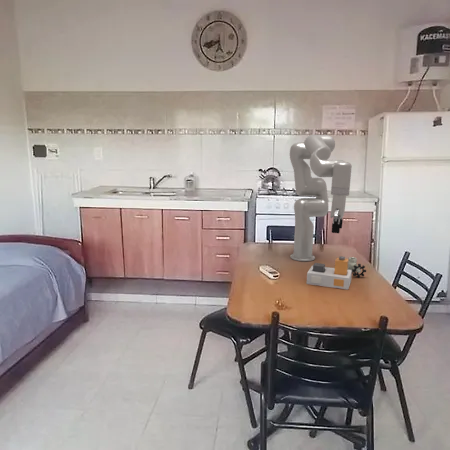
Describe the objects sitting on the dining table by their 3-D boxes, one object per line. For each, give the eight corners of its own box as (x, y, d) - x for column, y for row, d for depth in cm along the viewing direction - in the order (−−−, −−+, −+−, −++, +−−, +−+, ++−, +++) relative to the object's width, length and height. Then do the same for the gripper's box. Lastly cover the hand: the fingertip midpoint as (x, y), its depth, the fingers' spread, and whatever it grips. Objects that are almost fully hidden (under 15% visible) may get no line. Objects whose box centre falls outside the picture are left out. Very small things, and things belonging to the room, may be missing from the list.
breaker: (314, 272, 194) (314, 262, 193) (324, 273, 192) (325, 264, 192) (312, 275, 190) (313, 265, 189) (322, 276, 188) (323, 266, 187)
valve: (343, 270, 209) (351, 277, 197) (344, 256, 208) (352, 264, 196) (357, 270, 209) (365, 278, 197) (358, 256, 208) (367, 264, 196)
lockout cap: (335, 270, 191) (336, 255, 189) (347, 272, 189) (348, 256, 188) (334, 274, 186) (335, 257, 185) (346, 275, 184) (347, 259, 183)
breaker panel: (311, 275, 199) (312, 265, 198) (351, 281, 193) (351, 270, 192) (306, 284, 188) (307, 273, 186) (348, 289, 181) (349, 278, 180)
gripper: (333, 188, 193) (330, 225, 197) (328, 193, 177) (325, 233, 181) (351, 189, 191) (347, 227, 195) (347, 194, 175) (343, 235, 179)
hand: (336, 230), depth 188 cm, fingers open, 9 cm apart
